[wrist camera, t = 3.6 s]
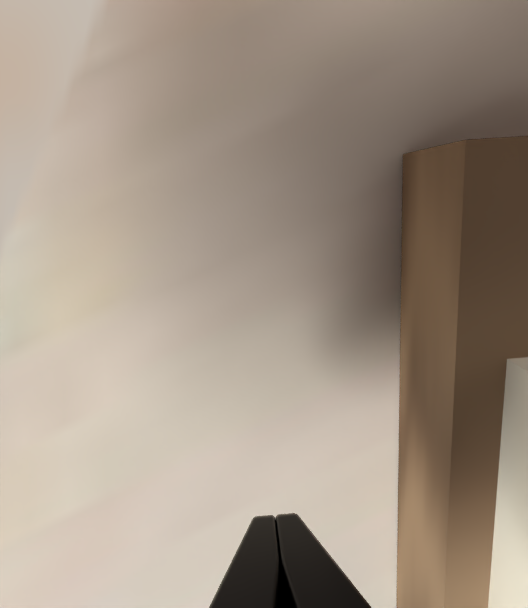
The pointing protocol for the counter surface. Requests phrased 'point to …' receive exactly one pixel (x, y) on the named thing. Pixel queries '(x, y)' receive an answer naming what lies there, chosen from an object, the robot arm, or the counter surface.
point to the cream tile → (512, 496)
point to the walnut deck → (457, 359)
